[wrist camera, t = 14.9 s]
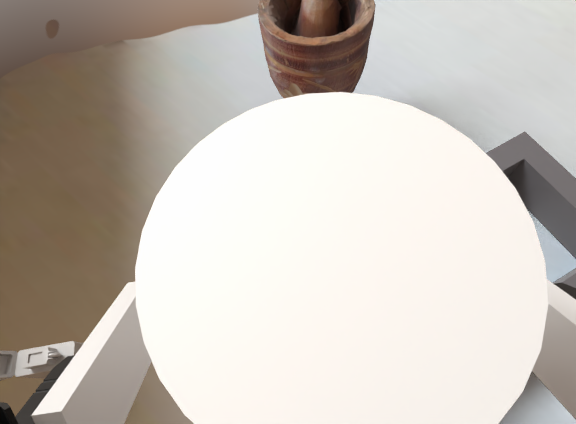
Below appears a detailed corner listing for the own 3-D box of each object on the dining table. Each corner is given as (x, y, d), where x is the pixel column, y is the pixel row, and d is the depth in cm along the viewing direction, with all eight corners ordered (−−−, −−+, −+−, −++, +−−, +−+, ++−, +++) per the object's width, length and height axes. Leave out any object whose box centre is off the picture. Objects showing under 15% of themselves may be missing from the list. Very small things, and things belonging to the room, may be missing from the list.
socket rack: (504, 157, 36) (529, 125, 31) (619, 272, 30) (669, 252, 26) (208, 324, 31) (190, 312, 27) (284, 495, 26) (277, 515, 21)
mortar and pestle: (260, 80, 42) (219, -151, 24) (334, 62, 43) (346, -178, 25) (286, 163, 37) (257, -51, 19) (370, 141, 38) (417, -88, 20)
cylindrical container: (338, 295, 31) (389, 47, 9) (387, 380, 28) (653, 333, 6) (261, 337, 30) (92, 179, 8) (302, 429, 27) (226, 605, 5)
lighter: (105, 347, 31) (40, 332, 24) (104, 370, 30) (37, 361, 23) (19, 363, 31) (-72, 353, 24) (15, 386, 30) (-80, 383, 23)
